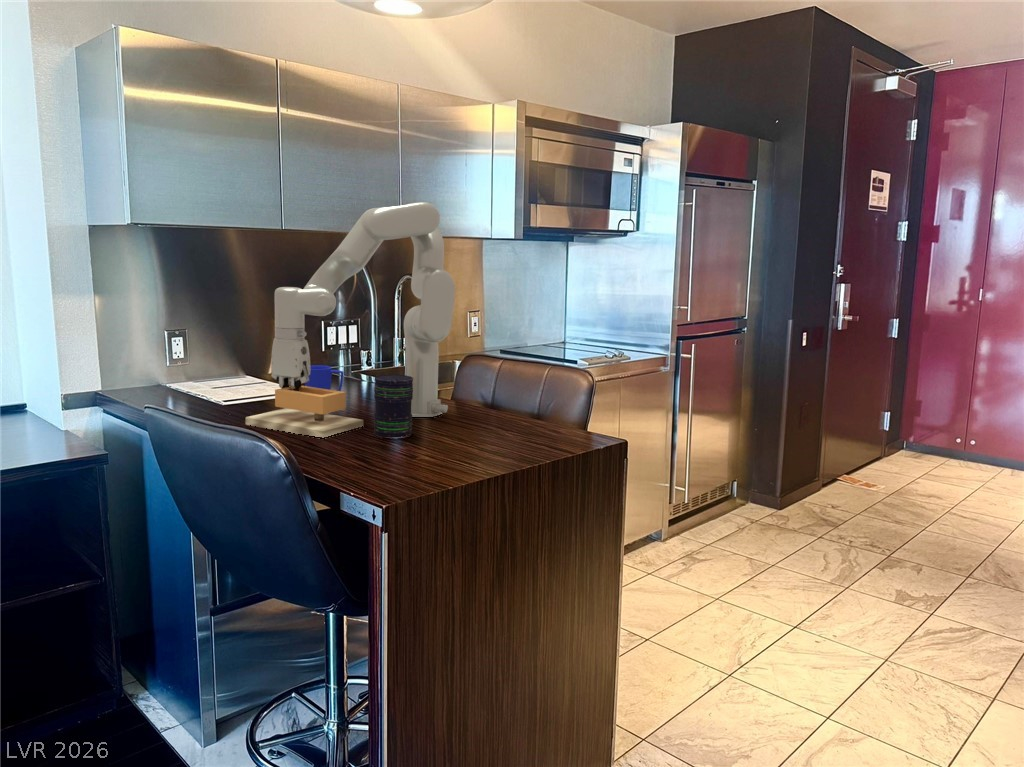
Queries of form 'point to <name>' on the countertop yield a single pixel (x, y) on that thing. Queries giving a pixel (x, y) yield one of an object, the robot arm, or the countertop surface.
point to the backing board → (303, 422)
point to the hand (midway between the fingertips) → (290, 402)
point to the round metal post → (319, 417)
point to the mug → (322, 377)
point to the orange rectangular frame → (310, 399)
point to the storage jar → (393, 405)
